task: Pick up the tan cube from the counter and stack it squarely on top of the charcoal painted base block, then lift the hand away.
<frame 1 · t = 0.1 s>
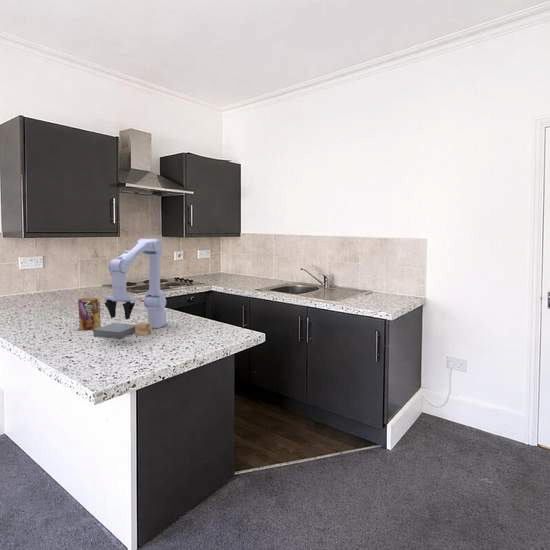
hand: (120, 318, 169), 10 cm above the countertop, tool pointing down, fingers open, 7 cm apart
base block: (116, 333, 182), on the countertop
tan cube: (143, 334, 182), on the countertop
candy box: (90, 329, 190), on the countertop
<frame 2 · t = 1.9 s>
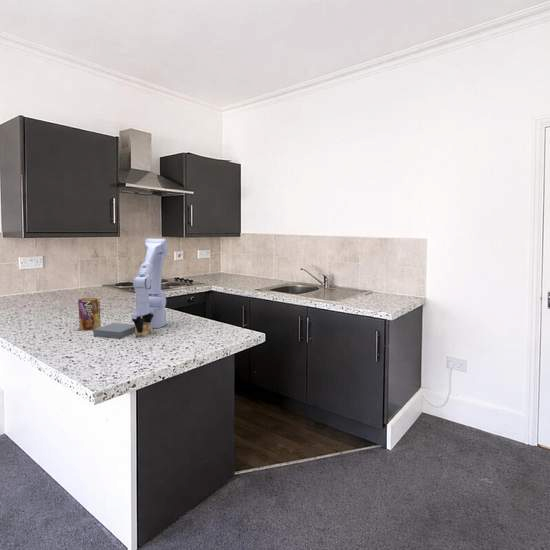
hand: (143, 331, 182), 1 cm above the countertop, tool pointing down, fingers closed on tan cube, 5 cm apart
tan cube: (143, 334, 182), on the countertop, touching gripper
everything else where it was.
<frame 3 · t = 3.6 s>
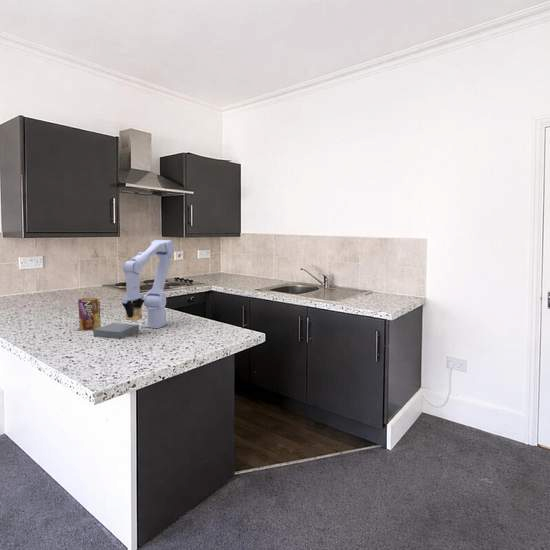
hand: (133, 316, 181), 8 cm above the countertop, tool pointing down, fingers closed on tan cube, 5 cm apart
tan cube: (134, 319, 181), point 7 cm above the countertop, touching gripper
everything else where it was.
when the fingers open (6 cm above the countertop, at t = 5.4 s): tan cube drops 1 cm, resting on base block.
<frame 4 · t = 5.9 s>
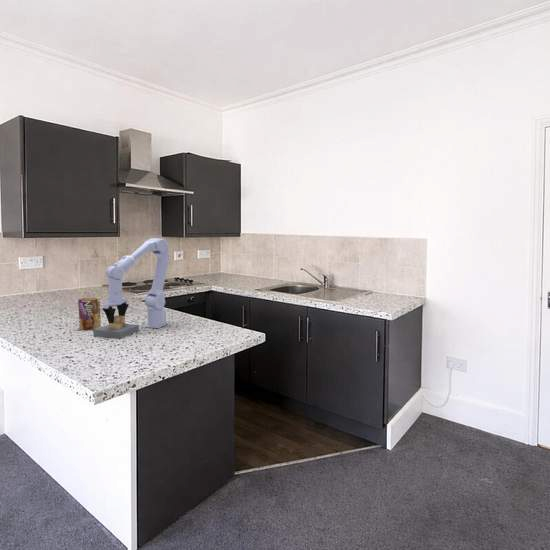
hand: (116, 321, 181), 6 cm above the countertop, tool pointing down, fingers open, 7 cm apart
tan cube: (117, 327, 181), point 3 cm above the countertop, touching base block
everything else where it was.
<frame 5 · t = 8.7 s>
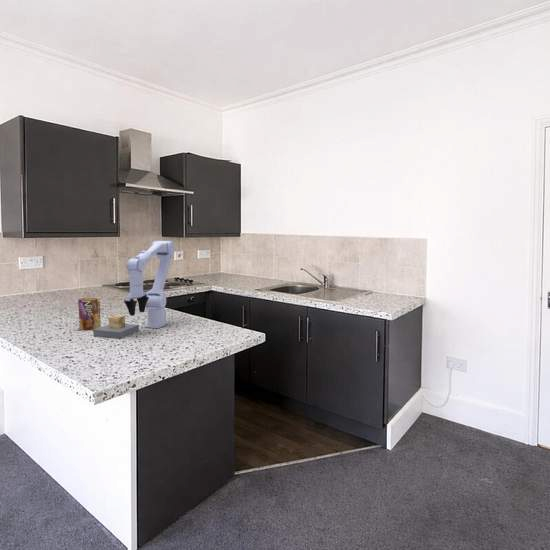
hand: (137, 313, 181), 9 cm above the countertop, tool pointing down, fingers open, 7 cm apart
nothing on the countertop moved.
at the end: tan cube inside the target area on the base block (0.2 cm from its centre), point 3.0 cm above the base block's base; tan cube tilted 0°; the gripper is holding nothing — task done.
